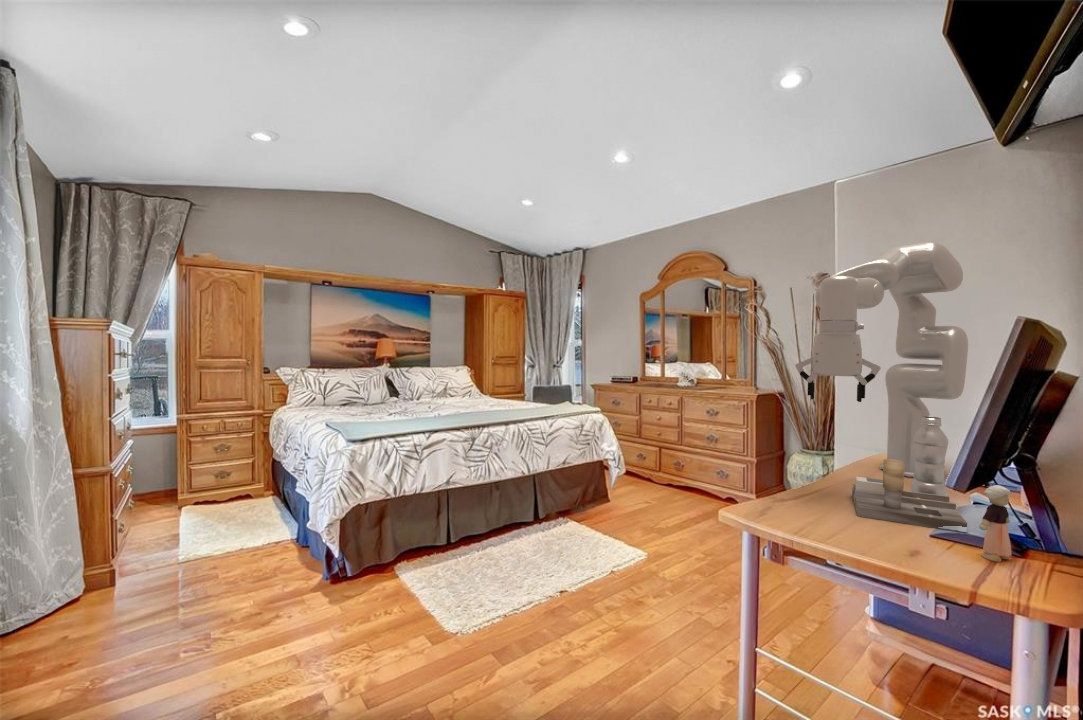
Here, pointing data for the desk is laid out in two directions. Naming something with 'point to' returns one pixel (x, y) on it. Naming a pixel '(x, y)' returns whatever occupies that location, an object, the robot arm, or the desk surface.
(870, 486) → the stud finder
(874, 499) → the grey ridged panel
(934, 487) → the plastic bottle
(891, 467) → the tan cylinder
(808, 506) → the desk surface
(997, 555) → the grandmother figurine
